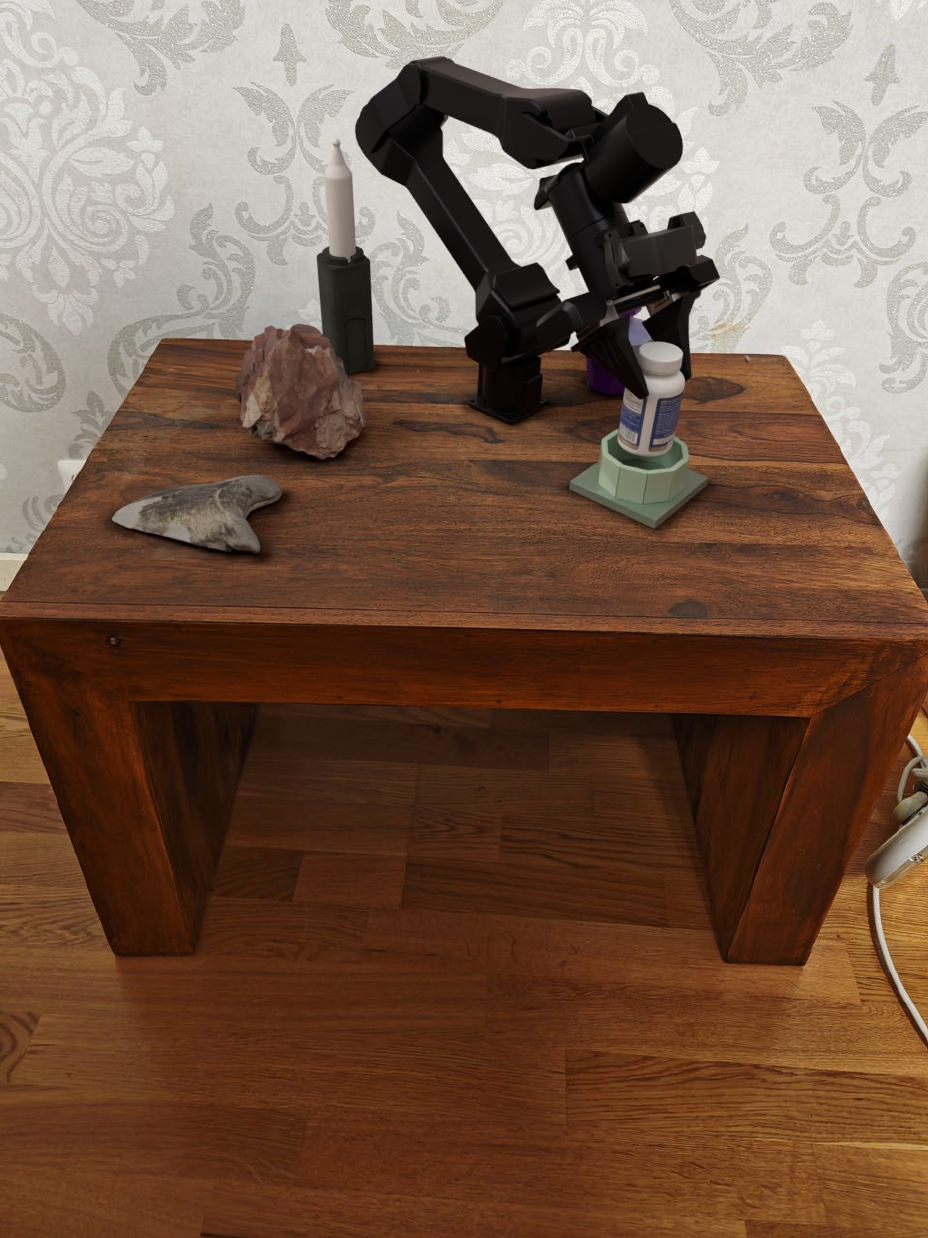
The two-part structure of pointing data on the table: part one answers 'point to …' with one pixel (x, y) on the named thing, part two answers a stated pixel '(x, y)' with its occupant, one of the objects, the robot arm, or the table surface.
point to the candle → (345, 274)
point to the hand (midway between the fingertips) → (666, 388)
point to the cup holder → (640, 481)
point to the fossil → (204, 512)
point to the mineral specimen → (299, 392)
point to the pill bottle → (653, 402)
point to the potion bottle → (602, 379)
